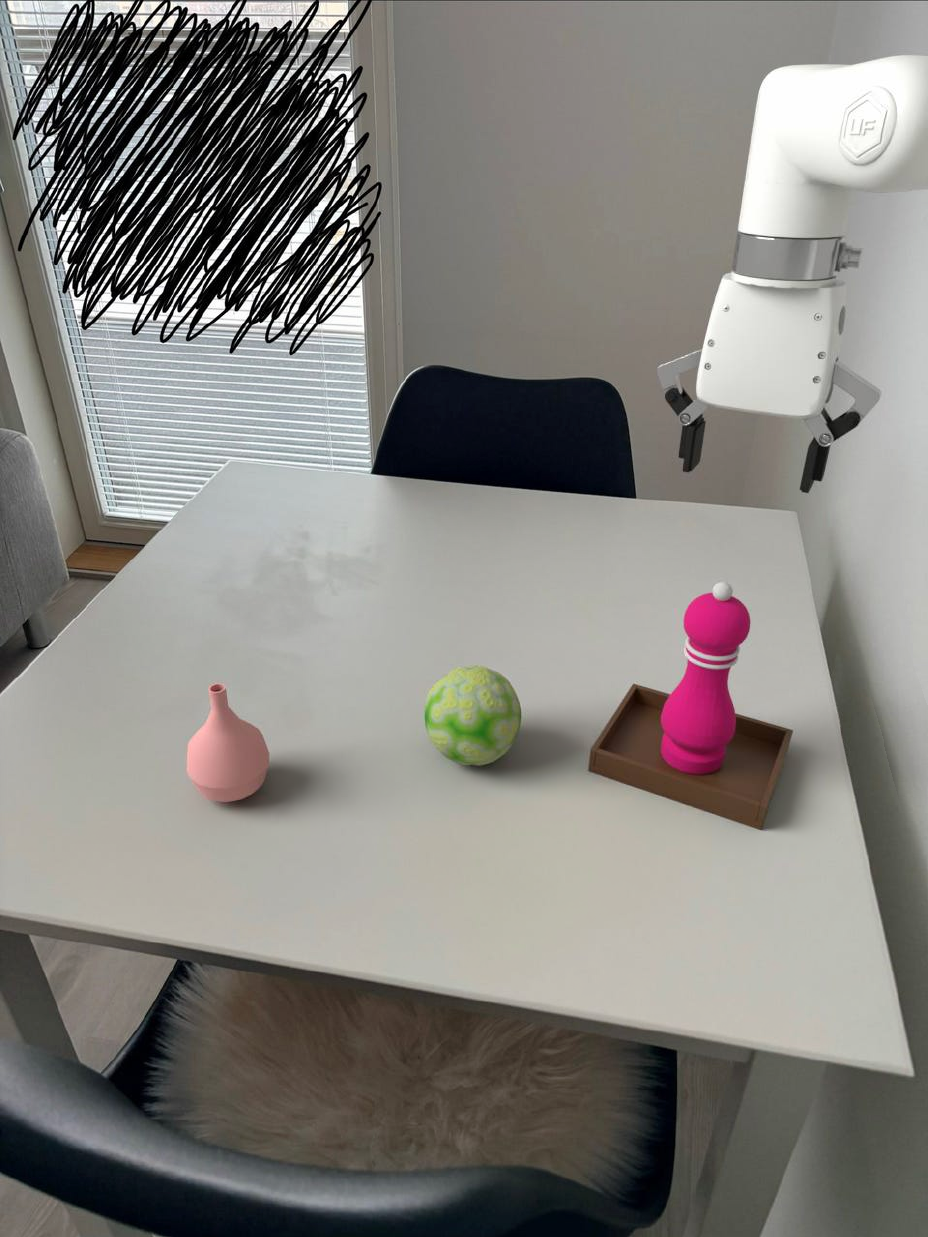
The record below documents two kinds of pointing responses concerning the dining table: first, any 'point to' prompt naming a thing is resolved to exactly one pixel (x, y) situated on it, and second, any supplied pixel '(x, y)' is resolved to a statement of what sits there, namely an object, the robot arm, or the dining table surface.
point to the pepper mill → (705, 684)
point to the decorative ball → (472, 715)
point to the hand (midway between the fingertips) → (747, 477)
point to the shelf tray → (726, 792)
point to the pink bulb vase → (226, 753)
